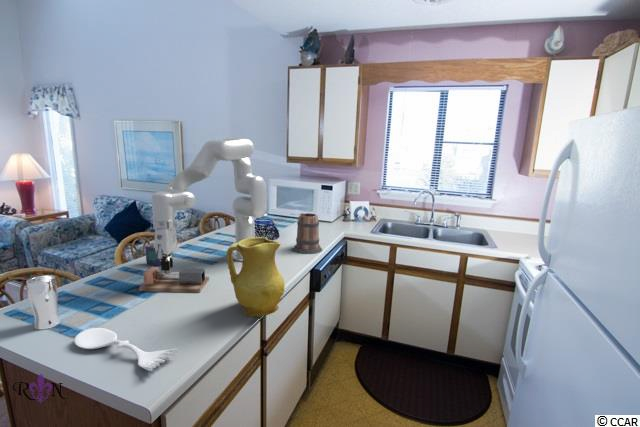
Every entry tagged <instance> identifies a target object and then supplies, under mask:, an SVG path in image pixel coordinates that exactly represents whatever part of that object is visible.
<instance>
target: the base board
mask: <svg viewBox="0 0 640 427" xmlns="http://www.w3.org/2000/svg"><path fill="white" fill-rule="evenodd" d="M209 281H210V276H205V281H204V282H203V284H202V285H180V283H179V280H157V281H156V282H155V283H154V284H144V283H143V284H142V285H140V287H138V290H139V291H145V292H147V293H148V292H149V293H150V292H152V293H155V292H156V293H161V292H162V293H201V292H202V290H203V289H204V288H205V286H206V285H207V284H208V282H209ZM139 291H138V292H139Z"/></svg>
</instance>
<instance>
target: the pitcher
mask: <svg viewBox="0 0 640 427" xmlns="http://www.w3.org/2000/svg"><path fill="white" fill-rule="evenodd" d="M281 245H282V244H281V243H280V242H279V241H276V240H268V239H267V236H266V237H263V236H261V237H260V236H259V237H257V236H256V237H253V238H247V239H243V240H241V241H239V242H238V243H236V242H233V243H232V244H230V246H229V247H228V248H227V250H226V259H227V263H226V264H227V266H228V267H227V268H228V271H229V275H230V282H231V284H232V285H233V290H234V293H235V298H236V301H237V302H238V304H239V305H241V306H242V309H241V310H242V311H243V313H244V314H245V315H247V316H248V317H249V316H250V317H253V318H254V317H257V318H260V317H264V316H265V317H266V316H268V315H271V314H274V313H276V312H277V311H278V309H279V305H278V304H279V303H280V302H281V301H282V300H283V299H282V297H283V296H284V295H285V294H284V293H285V280H284V278H283V275H282V274H281V273H280V271H279V269H278V267H277V264H276V258H275V257H276V252H277V250H278V249H279V248H280V246H281ZM234 251H235V252H236V251H239V252H240V254H241V255H242V256H243V261H241V263H242V264H241V268H240V271H239V273H237V271H236V266H235V262H234V259H233V253H234Z"/></svg>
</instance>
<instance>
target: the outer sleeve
mask: <svg viewBox="0 0 640 427" xmlns="http://www.w3.org/2000/svg"><path fill="white" fill-rule="evenodd" d="M205 277H206V268H197V267H196V268H195V267H194V268H193V267H190V268H189V267H183V268H182V269H181V270H180V271H179V283H180V285H202V284H203V282H204V281H205Z"/></svg>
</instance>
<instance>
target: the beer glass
mask: <svg viewBox="0 0 640 427" xmlns="http://www.w3.org/2000/svg"><path fill="white" fill-rule="evenodd" d="M58 292H59V291H58V285H57V281H56V276H55V275H53V274H46V275H38V276H33V277H32V278H30V279H27V280H26V295H27V300H28V303H29V306H30V309H31V310H32V313H33V316H34V324H33V325H34V329H35V330H38V331H42V330H48V329H51V328H54V327H56V326H58V325H59V324H60V322H61V320H60V318H59V314H58V297H59V294H58Z"/></svg>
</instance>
